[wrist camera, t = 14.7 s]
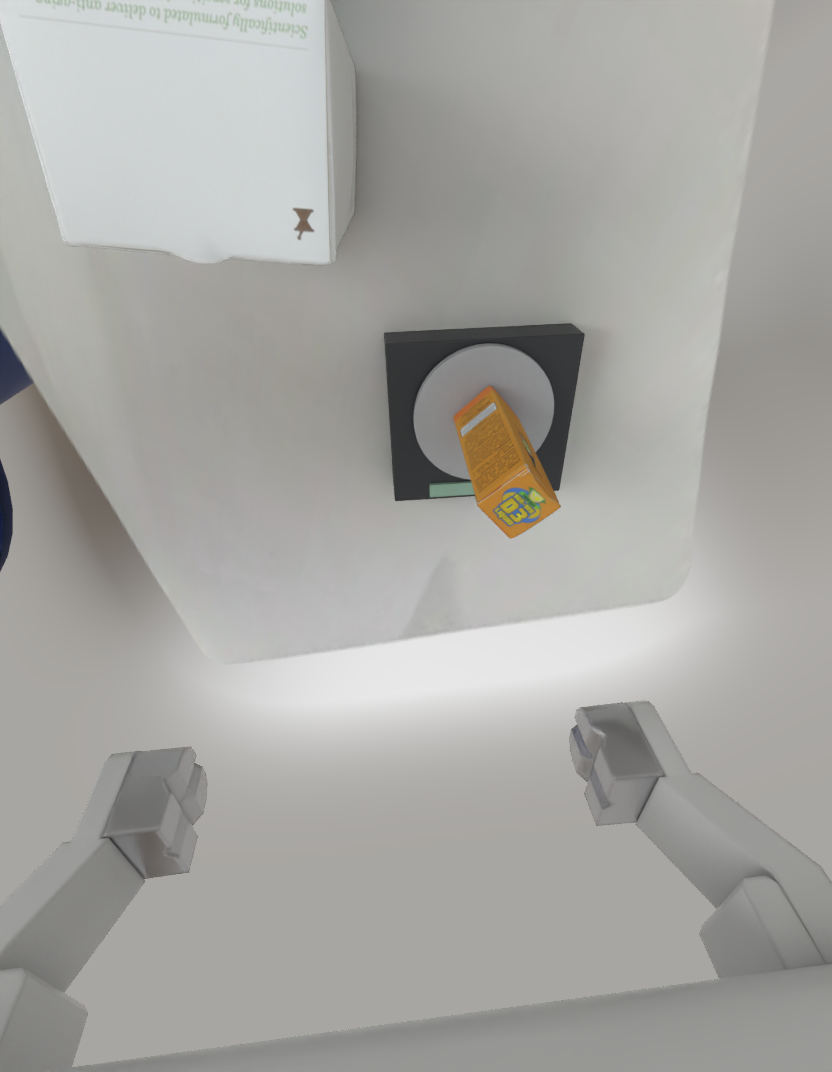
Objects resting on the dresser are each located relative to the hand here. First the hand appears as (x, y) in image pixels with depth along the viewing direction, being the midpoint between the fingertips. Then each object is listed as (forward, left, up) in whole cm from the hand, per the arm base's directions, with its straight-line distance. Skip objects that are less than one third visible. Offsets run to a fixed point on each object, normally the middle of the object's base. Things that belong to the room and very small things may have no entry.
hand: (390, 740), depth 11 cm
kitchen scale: (+7, -4, -27) cm, 28 cm away
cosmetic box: (-4, +11, -27) cm, 30 cm away
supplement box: (+7, -3, -24) cm, 25 cm away
